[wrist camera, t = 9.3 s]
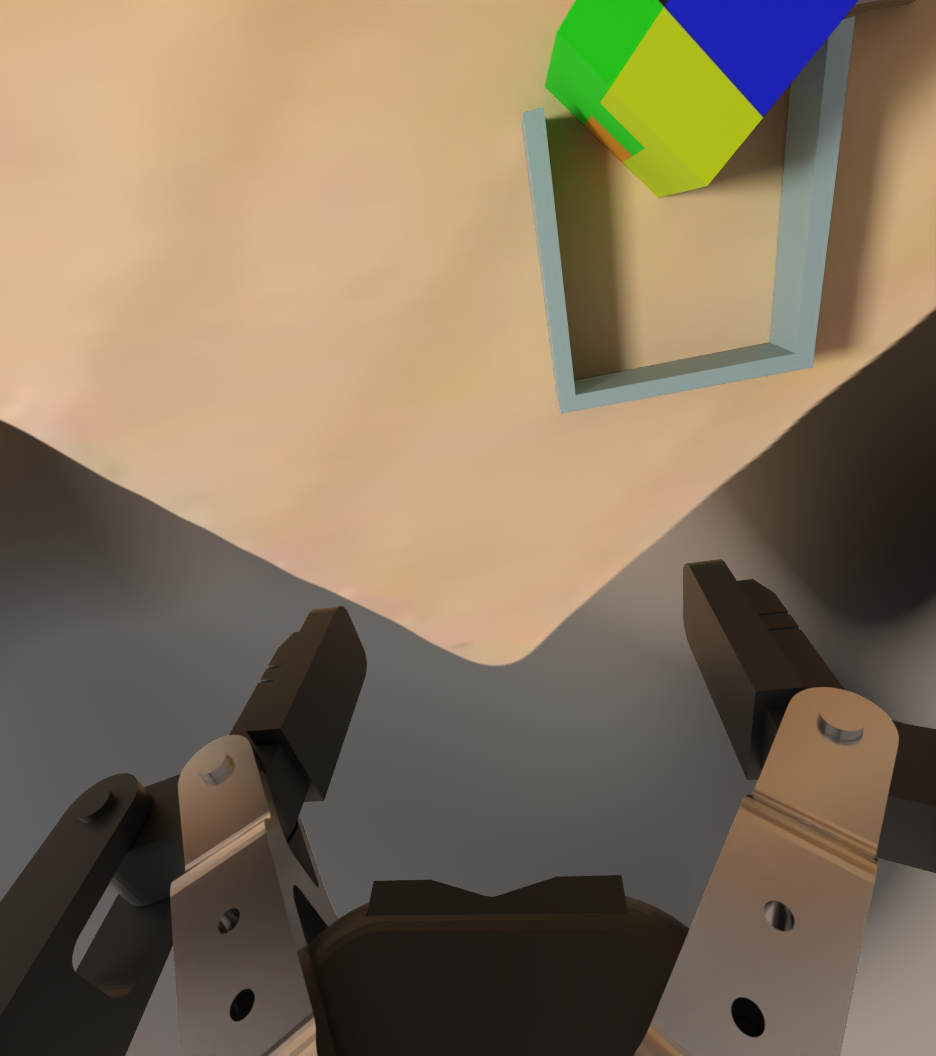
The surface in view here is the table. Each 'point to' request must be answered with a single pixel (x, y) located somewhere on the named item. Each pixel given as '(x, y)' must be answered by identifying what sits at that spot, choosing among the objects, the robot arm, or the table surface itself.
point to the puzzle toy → (682, 76)
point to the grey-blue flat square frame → (798, 249)
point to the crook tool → (876, 4)
